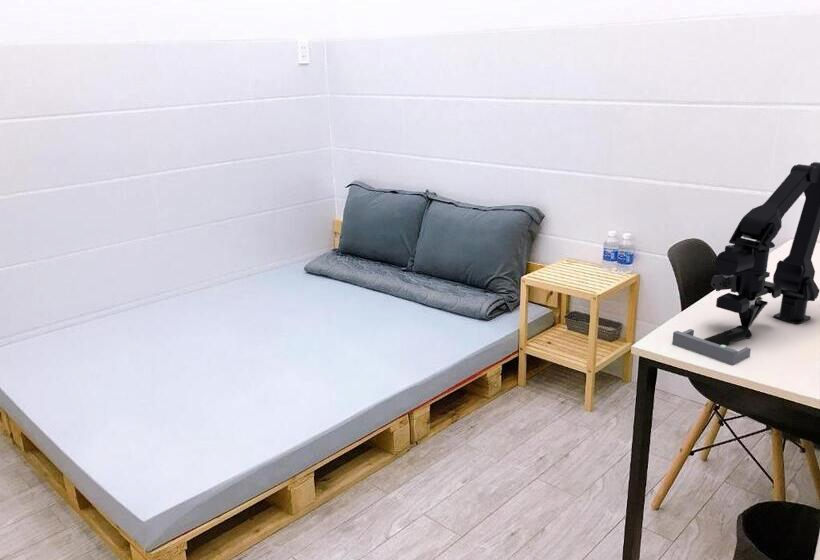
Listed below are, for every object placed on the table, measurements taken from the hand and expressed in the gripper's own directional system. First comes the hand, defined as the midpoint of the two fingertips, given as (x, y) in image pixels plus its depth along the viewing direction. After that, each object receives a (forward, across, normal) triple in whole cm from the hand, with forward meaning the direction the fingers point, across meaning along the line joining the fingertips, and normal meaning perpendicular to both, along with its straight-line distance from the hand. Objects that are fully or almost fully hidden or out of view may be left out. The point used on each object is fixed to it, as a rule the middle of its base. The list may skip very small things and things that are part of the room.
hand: (744, 329), depth 164 cm
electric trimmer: (+2, +8, 0) cm, 8 cm away
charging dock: (+1, +15, 0) cm, 15 cm away
